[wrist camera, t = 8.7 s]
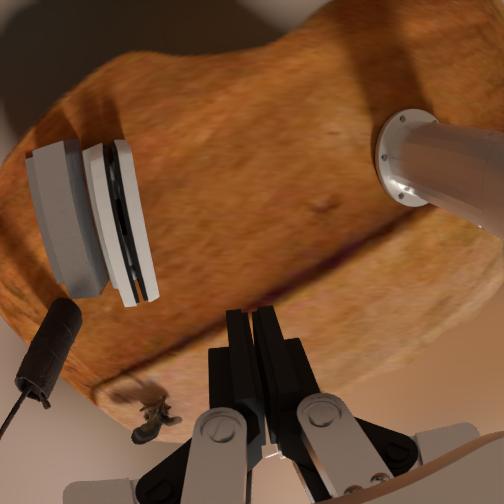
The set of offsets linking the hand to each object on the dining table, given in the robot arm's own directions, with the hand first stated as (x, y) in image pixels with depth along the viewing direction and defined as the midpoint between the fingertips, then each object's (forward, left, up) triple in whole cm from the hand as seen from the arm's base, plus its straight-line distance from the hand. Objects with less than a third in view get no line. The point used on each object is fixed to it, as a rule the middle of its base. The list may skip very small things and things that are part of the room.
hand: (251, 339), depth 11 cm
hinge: (+11, 0, -23) cm, 25 cm away
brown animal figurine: (+16, +34, -23) cm, 44 cm away
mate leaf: (+19, -1, -23) cm, 29 cm away
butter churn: (+23, +13, -23) cm, 35 cm away
